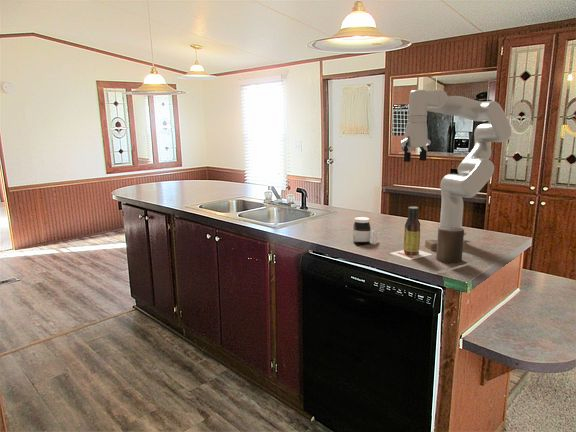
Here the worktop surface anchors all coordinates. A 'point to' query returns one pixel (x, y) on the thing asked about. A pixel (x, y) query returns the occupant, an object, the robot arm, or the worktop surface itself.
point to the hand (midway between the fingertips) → (415, 161)
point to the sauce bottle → (412, 232)
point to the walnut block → (431, 244)
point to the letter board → (410, 257)
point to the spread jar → (363, 232)
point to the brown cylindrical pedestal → (450, 244)
